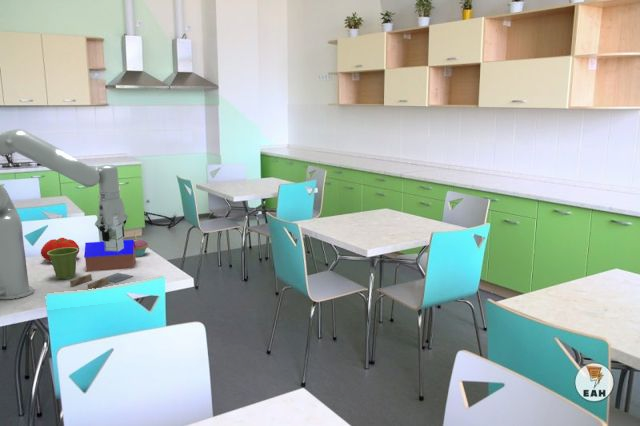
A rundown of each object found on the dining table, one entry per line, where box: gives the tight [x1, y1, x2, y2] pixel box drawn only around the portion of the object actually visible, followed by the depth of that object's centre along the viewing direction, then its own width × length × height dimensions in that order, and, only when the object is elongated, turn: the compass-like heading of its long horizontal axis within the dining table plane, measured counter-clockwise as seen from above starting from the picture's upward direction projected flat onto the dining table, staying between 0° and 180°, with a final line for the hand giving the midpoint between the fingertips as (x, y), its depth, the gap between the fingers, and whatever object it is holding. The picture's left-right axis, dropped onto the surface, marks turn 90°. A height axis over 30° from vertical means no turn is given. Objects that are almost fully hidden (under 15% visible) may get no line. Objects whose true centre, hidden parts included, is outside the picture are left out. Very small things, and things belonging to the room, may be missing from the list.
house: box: [83, 239, 136, 272], centre depth 243 cm, size 12×20×12 cm, turn 104°
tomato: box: [40, 237, 80, 262], centre depth 252 cm, size 14×16×10 cm
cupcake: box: [133, 230, 149, 257], centre depth 260 cm, size 9×8×12 cm
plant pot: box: [47, 247, 78, 280], centre depth 228 cm, size 12×12×11 cm
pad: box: [99, 272, 134, 284], centre depth 227 cm, size 9×9×1 cm
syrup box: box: [102, 216, 124, 251], centre depth 223 cm, size 6×6×14 cm
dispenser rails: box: [69, 273, 110, 290], centre depth 218 cm, size 10×11×2 cm
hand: (113, 238), depth 223 cm, fingers closed on syrup box, 7 cm apart
